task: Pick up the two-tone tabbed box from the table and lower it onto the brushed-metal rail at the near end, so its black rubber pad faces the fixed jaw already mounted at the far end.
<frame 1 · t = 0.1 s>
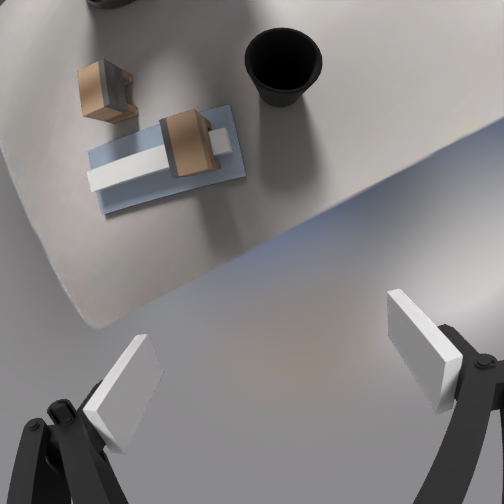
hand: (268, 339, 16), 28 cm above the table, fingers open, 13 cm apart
two-tone tabbed box: (123, 99, 39), on the table
rail: (161, 160, 41), on the table
fixed jaw: (200, 148, 39), resting on rail
cup: (279, 88, 38), on the table
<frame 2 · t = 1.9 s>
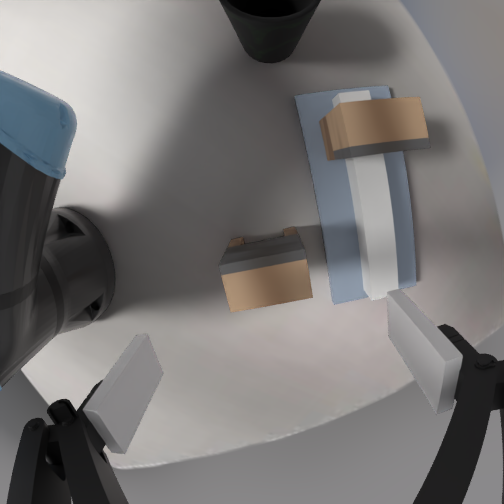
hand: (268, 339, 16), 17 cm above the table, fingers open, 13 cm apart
two-tone tabbed box: (266, 251, 33), on the table
rail: (362, 194, 30), on the table
fixed jaw: (354, 136, 28), resting on rail
cup: (269, 41, 27), on the table
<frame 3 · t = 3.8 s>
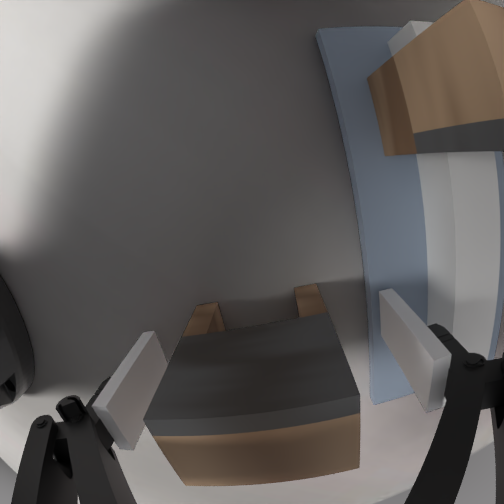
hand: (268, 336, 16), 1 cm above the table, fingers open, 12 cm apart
two-tone tabbed box: (262, 327, 17), on the table
rail: (438, 221, 15), on the table
fixed jaw: (431, 112, 13), resting on rail
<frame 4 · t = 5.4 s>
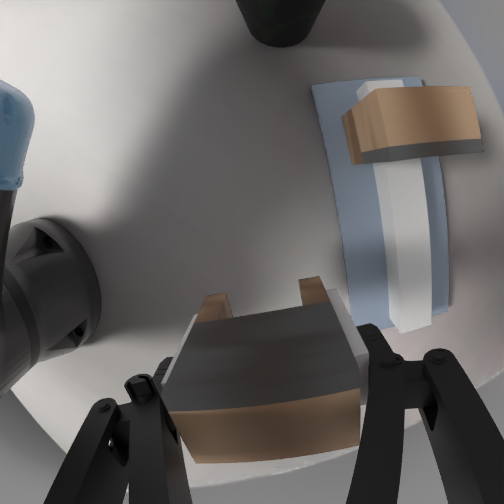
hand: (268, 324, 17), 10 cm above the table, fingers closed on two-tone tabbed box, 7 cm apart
two-tone tabbed box: (268, 317, 18), point 9 cm above the table, touching gripper
rail: (392, 205, 25), on the table
fixed jaw: (384, 135, 22), resting on rail
cup: (279, 22, 22), on the table
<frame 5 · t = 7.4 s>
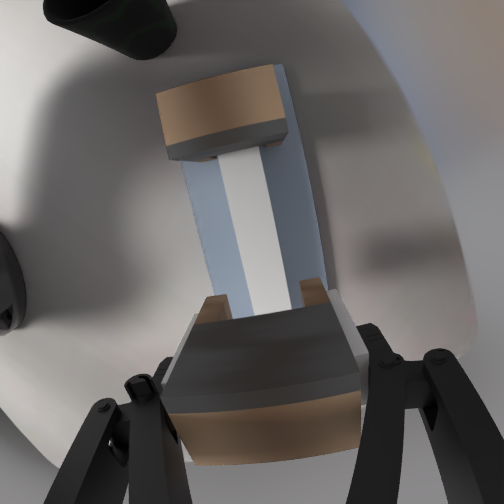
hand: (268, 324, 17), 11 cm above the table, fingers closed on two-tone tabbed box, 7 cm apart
two-tone tabbed box: (268, 318, 18), point 10 cm above the table, touching gripper
rail: (252, 199, 26), on the table
fixed jaw: (235, 129, 24), resting on rail
cup: (149, 35, 23), on the table
when the fingers open (2 cm above the table, at t = 9.6 s): two-tone tabbed box stays where it is, resting on rail.
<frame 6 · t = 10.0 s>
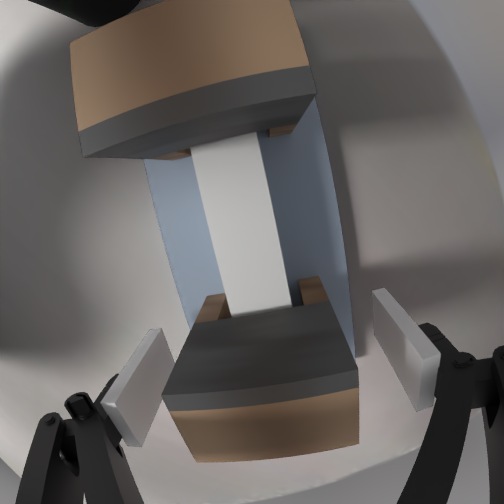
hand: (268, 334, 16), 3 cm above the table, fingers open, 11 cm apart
two-tone tabbed box: (268, 316, 18), point 1 cm above the table, touching rail
rail: (247, 214, 18), on the table
fixed jaw: (222, 111, 15), resting on rail
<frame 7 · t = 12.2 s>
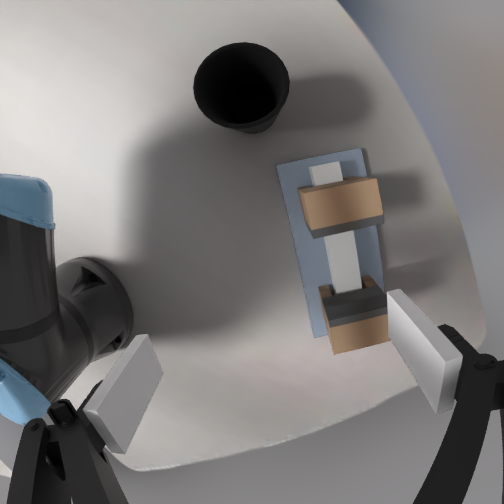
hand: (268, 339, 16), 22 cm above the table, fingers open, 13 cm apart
two-tone tabbed box: (346, 295, 37), point 1 cm above the table, touching rail
rail: (337, 247, 37), on the table
fixed jaw: (329, 199, 34), resting on rail
cup: (252, 111, 34), on the table
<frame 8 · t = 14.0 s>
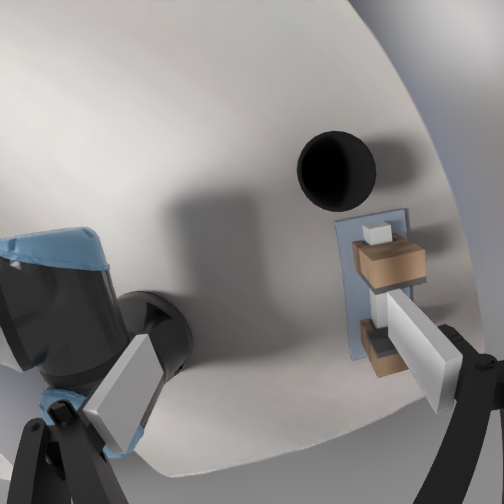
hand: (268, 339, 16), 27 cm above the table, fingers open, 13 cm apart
two-tone tabbed box: (381, 327, 43), point 1 cm above the table, touching rail
rail: (377, 288, 43), on the table
fixed jaw: (375, 251, 40), resting on rail
cup: (317, 170, 39), on the table
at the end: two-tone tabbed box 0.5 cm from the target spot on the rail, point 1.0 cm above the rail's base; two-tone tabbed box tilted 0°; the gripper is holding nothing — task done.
